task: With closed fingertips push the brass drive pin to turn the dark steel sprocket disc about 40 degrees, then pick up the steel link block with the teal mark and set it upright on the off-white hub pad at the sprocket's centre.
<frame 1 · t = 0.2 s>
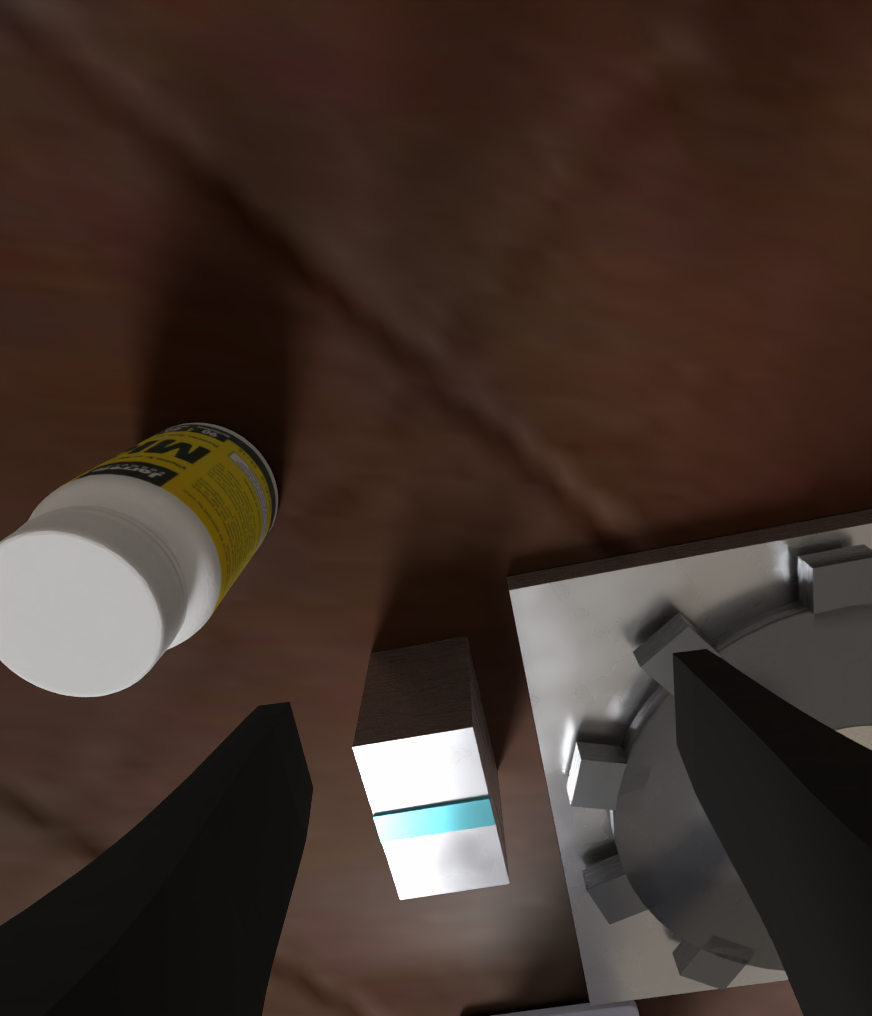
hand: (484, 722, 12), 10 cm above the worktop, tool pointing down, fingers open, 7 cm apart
base plate: (814, 763, 25), on the worktop
link block: (436, 712, 24), on the worktop
supplement bottle: (209, 489, 22), on the worktop
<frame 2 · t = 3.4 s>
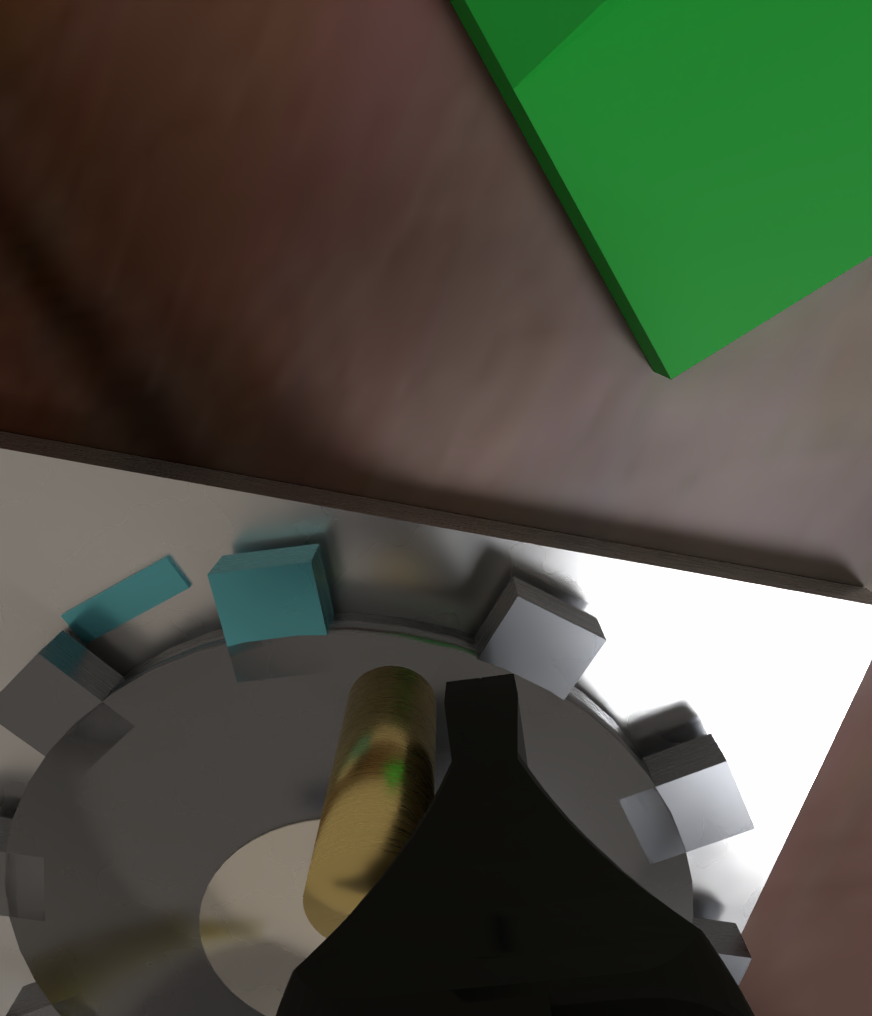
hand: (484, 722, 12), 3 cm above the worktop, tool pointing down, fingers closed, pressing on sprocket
base plate: (360, 855, 18), on the worktop
sprocket: (338, 1014, 14), point 4 cm above the worktop, hinge at 0.6°, touching gripper
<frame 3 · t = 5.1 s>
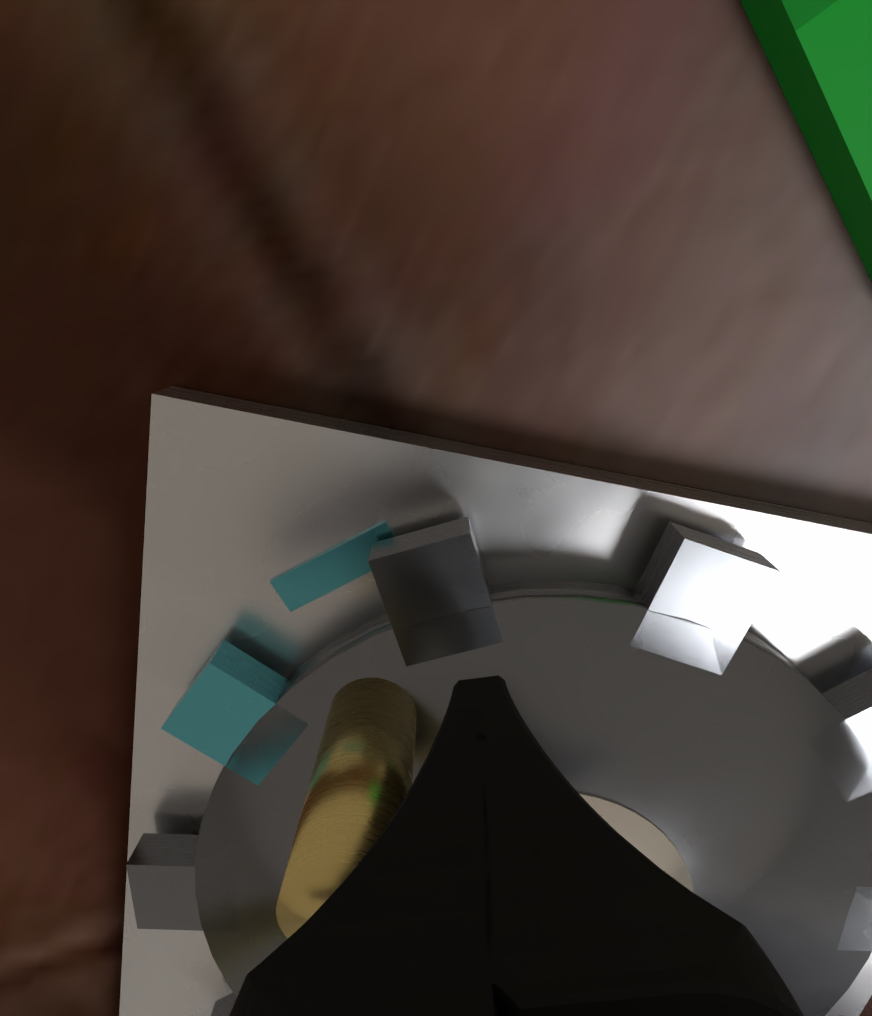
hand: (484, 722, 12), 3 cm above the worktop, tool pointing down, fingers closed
base plate: (528, 833, 17), on the worktop
sprocket: (551, 989, 14), point 4 cm above the worktop, hinge at 45.9°, touching gripper
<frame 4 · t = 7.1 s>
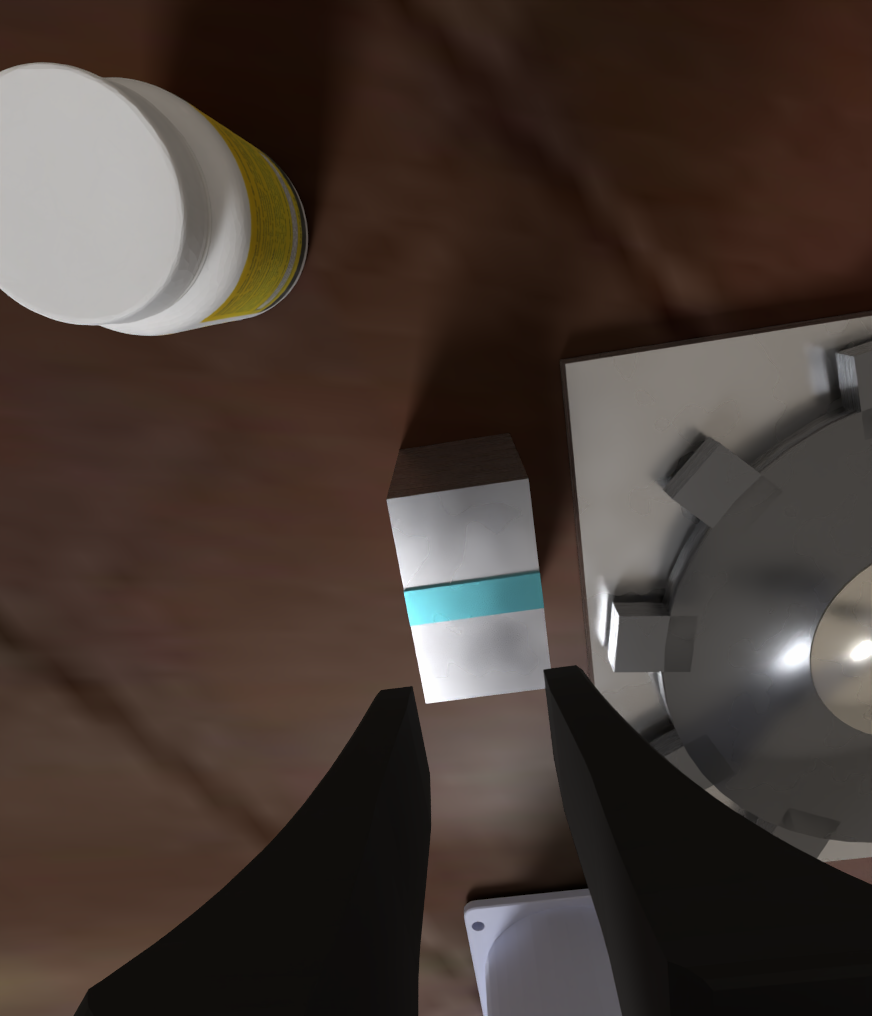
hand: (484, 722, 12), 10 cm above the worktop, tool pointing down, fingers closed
link block: (467, 528, 22), on the worktop
supplement bottle: (229, 233, 19), on the worktop
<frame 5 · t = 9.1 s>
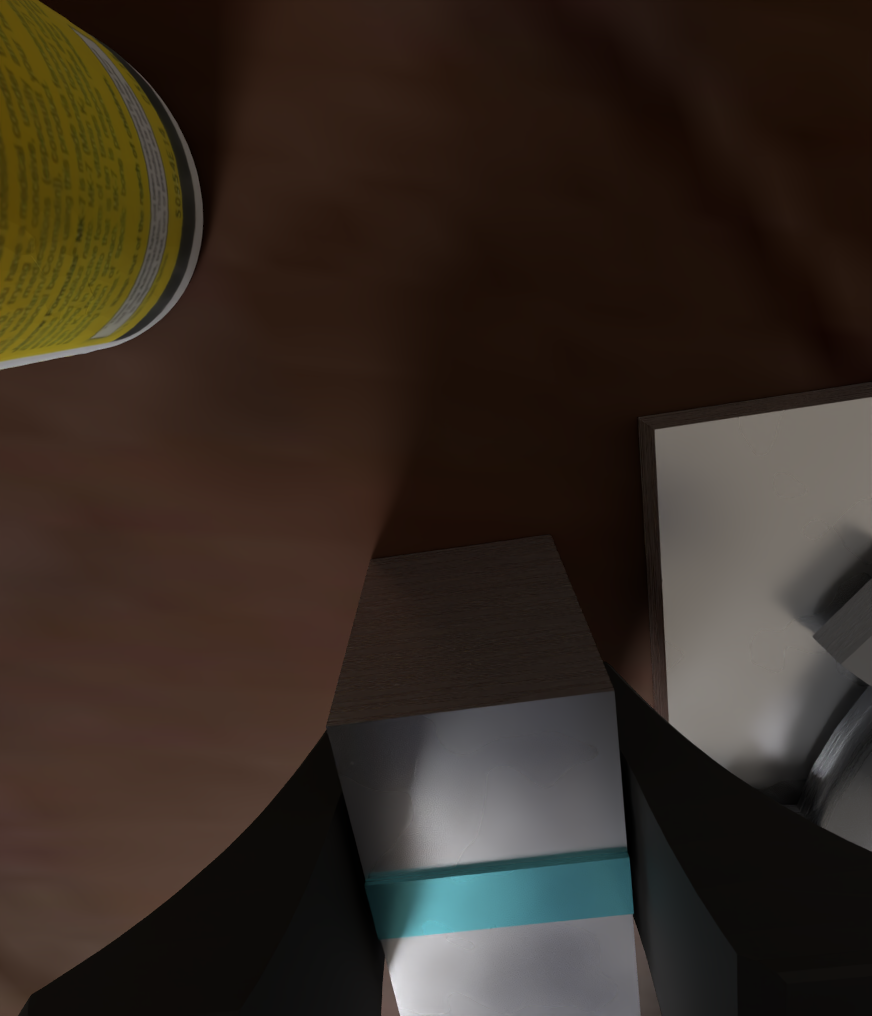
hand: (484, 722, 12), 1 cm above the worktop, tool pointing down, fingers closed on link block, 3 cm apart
link block: (480, 679, 14), on the worktop, touching gripper
supplement bottle: (69, 202, 11), on the worktop
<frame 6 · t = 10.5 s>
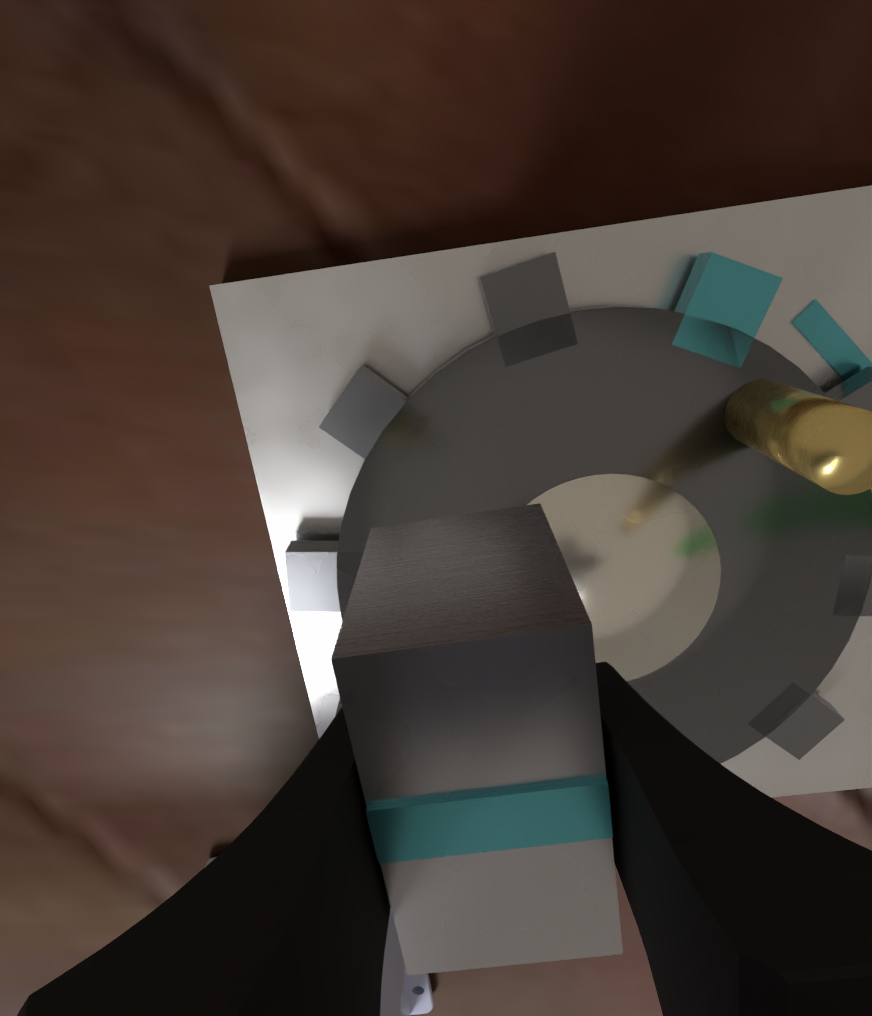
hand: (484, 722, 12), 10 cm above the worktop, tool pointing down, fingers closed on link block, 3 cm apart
base plate: (586, 555, 22), on the worktop
sprocket: (616, 613, 18), point 4 cm above the worktop, hinge at 45.9°
link block: (475, 643, 14), point 8 cm above the worktop, touching gripper
when the fingers open (5 cm above the worktop, at t = 12.1 s): link block stays where it is, resting on sprocket.
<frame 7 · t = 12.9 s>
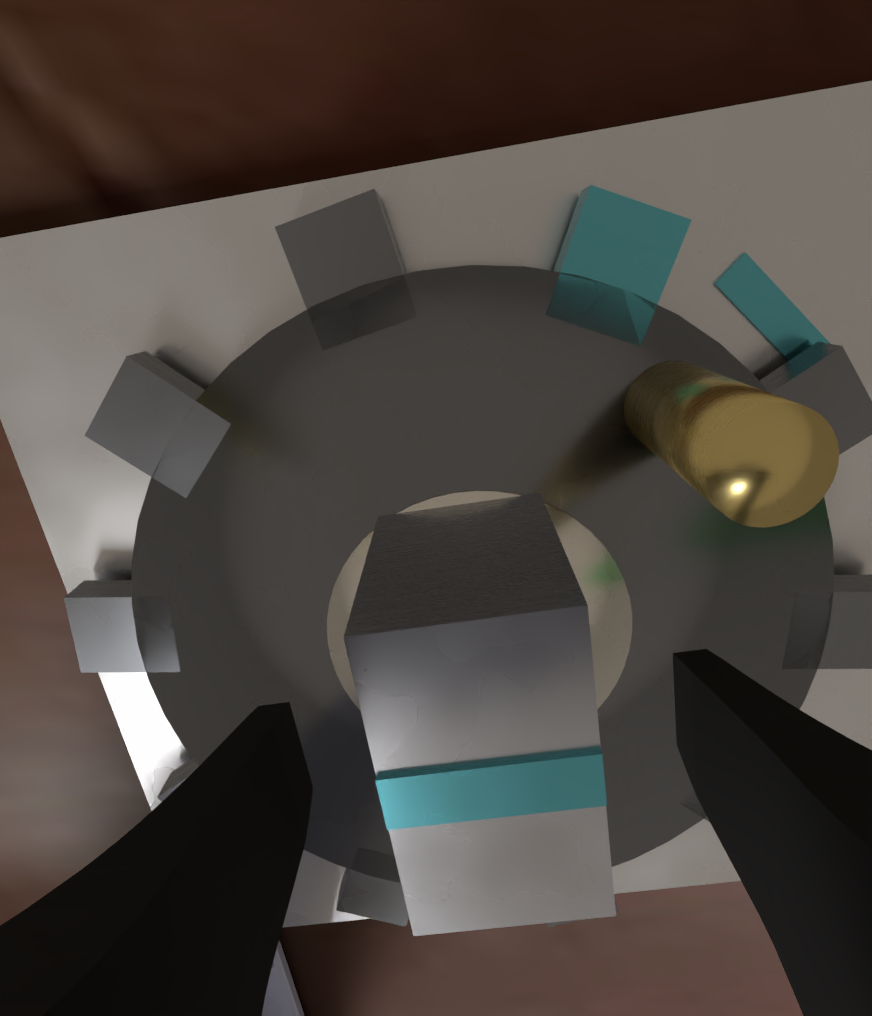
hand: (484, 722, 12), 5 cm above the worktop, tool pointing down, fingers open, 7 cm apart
base plate: (474, 590, 17), on the worktop
sprocket: (482, 678, 13), point 4 cm above the worktop, hinge at 45.9°, touching link block
link block: (477, 626, 15), point 2 cm above the worktop, touching sprocket
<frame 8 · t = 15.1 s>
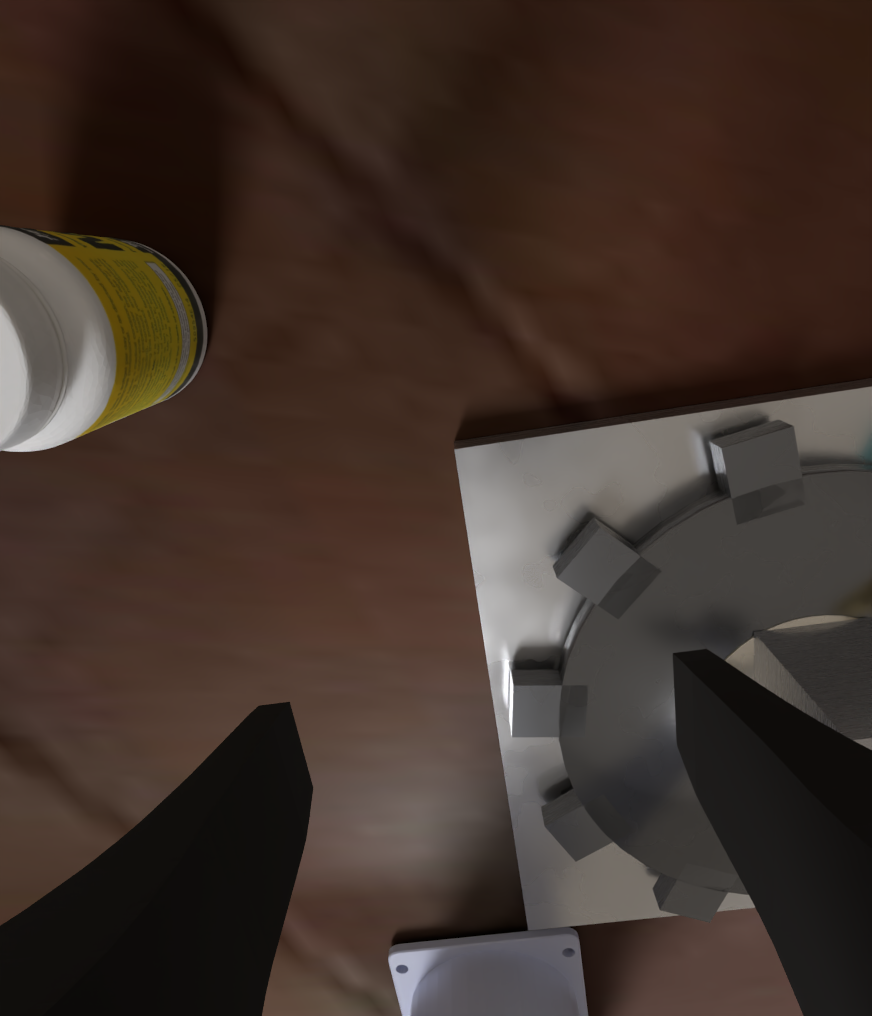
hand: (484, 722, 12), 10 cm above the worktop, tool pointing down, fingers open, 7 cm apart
base plate: (775, 671, 23), on the worktop
sprocket: (839, 748, 19), point 4 cm above the worktop, hinge at 45.9°, touching link block
link block: (809, 706, 21), point 2 cm above the worktop, touching sprocket
supplement bottle: (133, 324, 20), on the worktop
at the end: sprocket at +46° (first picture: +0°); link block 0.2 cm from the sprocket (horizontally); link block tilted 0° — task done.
